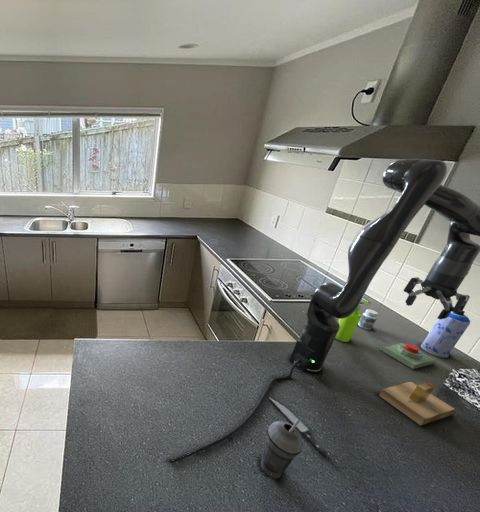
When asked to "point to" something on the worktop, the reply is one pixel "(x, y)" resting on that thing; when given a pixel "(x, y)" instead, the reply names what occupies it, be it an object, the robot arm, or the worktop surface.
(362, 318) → the pill bottle
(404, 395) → the lock plate
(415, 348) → the alarm button
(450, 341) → the aerosol can
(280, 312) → the worktop surface
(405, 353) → the box
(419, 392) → the lock knob
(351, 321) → the soap dispenser
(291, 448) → the beverage cup
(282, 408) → the chef's knife
